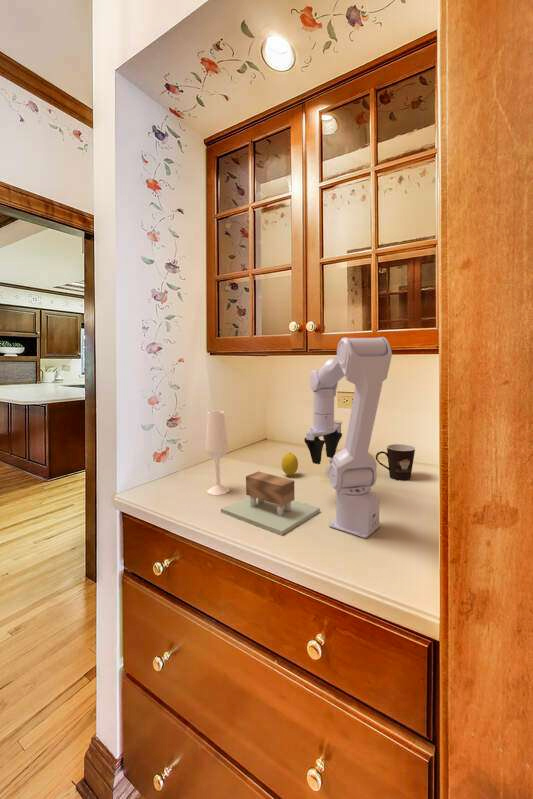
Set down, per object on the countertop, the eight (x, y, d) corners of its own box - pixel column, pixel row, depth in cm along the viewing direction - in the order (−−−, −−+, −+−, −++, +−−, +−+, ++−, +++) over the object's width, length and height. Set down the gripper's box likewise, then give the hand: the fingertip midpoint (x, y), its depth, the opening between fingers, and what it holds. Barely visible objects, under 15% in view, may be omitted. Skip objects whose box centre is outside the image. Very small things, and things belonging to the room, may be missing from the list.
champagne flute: (220, 496, 106) (217, 414, 103) (202, 492, 110) (199, 413, 107) (234, 489, 112) (231, 411, 109) (216, 485, 115) (213, 409, 113)
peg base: (319, 511, 95) (319, 496, 94) (281, 535, 83) (281, 518, 82) (261, 493, 108) (261, 480, 107) (221, 512, 96) (220, 497, 95)
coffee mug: (415, 475, 122) (415, 445, 121) (413, 483, 114) (414, 452, 113) (378, 470, 127) (379, 442, 125) (374, 478, 119) (375, 448, 118)
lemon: (288, 472, 127) (287, 449, 126) (301, 475, 124) (301, 452, 123) (278, 476, 123) (278, 453, 122) (291, 479, 119) (291, 455, 118)
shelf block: (294, 499, 93) (294, 480, 92) (282, 506, 89) (282, 486, 88) (258, 489, 101) (258, 471, 100) (246, 494, 97) (245, 476, 96)
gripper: (324, 408, 111) (324, 452, 112) (296, 415, 100) (297, 463, 101) (346, 410, 106) (345, 456, 108) (319, 417, 95) (319, 468, 97)
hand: (323, 460), depth 104 cm, fingers open, 7 cm apart
